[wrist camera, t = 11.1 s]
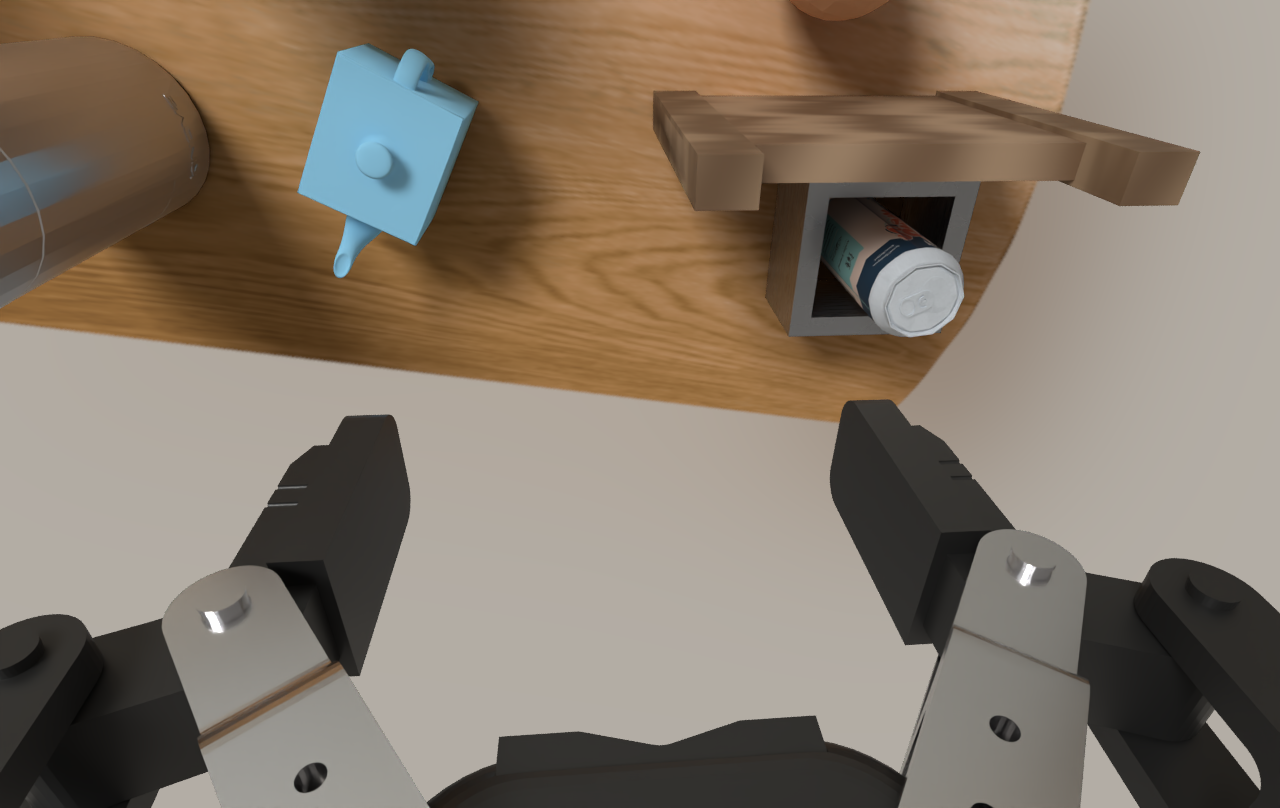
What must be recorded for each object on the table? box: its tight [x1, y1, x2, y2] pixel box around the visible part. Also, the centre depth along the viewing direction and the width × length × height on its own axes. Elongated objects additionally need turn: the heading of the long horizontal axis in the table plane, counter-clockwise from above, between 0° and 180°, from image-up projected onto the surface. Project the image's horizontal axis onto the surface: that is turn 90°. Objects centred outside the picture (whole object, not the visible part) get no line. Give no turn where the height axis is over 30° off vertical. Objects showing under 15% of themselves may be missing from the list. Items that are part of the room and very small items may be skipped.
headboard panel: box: [653, 91, 1200, 211], centre depth 33 cm, size 19×2×17 cm, turn 89°
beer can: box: [820, 197, 964, 337], centre depth 39 cm, size 5×5×12 cm
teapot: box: [297, 43, 478, 278], centre depth 36 cm, size 12×6×8 cm, turn 152°
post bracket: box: [765, 181, 981, 337], centre depth 41 cm, size 9×9×6 cm
